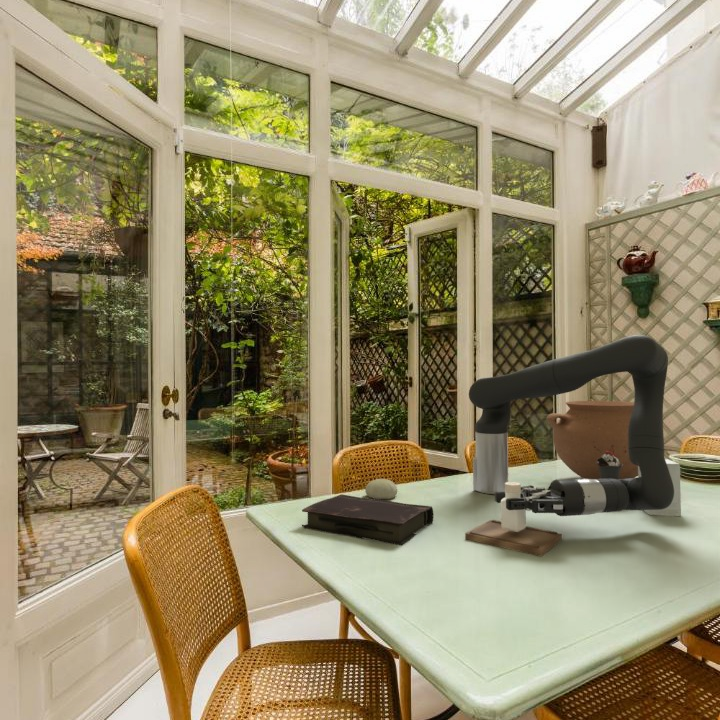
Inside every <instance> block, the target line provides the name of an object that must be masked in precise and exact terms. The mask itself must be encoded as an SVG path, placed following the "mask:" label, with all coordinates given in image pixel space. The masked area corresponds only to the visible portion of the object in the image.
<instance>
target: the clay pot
mask: <svg viewBox="0 0 720 720" xmlns="http://www.w3.org/2000/svg"><path fill="white" fill-rule="evenodd" d="M565 405H566V406H567V407H569V409H568V410H567V411H566V412H565V413H564V414H563V413H557V412H556V413H555V412H554V413H549V414H548V415H547V417H546V421H547V423H548V424H549V425H550V426H551V428H552V441H553V445H554V446H553V447H554V449H555V452H556V454H557V456H558V457H559V458H560V460H561V461H562V463H563V464H564V465H566V467H567V468H569V470H571V472H573V473H575V474H576V475H577V476H579V477H581V479H601V478H600V471H599V466H598V465H597V464H596V463H597V462H598V461H597V459H598V458H600V457H602V455H603V454H605V453H606V451H609V450H610V449H611V450H610V451H609V452H610V453H613V451H614V454H615V455H616V456H615V457H616V458H617V459H618V460H619V463H622V464H623V466H622V467H621V468H620V474H619V479H628V478H637V477H638V466H637V465H634V464H633V463H631V461H630V460H629V453H628V427H629V421H630V417H631V414H632V410H633V406H634V401H622V400H621V401H619V400H617V401H616V400H572V401H566V402H565ZM557 419H558V421H557V422H556V420H557ZM611 445H614V446H613V448H611Z"/></svg>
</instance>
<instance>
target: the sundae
mask: <svg viewBox="0 0 720 720" xmlns="http://www.w3.org/2000/svg"><path fill="white" fill-rule="evenodd" d="M613 446H614V445H611V448H613ZM610 450H611V449H610ZM610 450H609V451H610ZM609 451H606V453H605V454H603V455H602V457H600V458H598V459H597V461H598V462H597V463H596V464H597V465H598V466H599V471H600V478H601V479H617V480H618V479H619V474H620V468H621V467H622V466H623V464H622V463H619V460H618V459H617V458H616V457H615V456H616V455H615V454H614V451H613V453H610V452H609Z"/></svg>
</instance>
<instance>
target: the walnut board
mask: <svg viewBox="0 0 720 720" xmlns="http://www.w3.org/2000/svg"><path fill="white" fill-rule="evenodd" d="M464 535H465V536H464V537H465V540H467V541H468V540H469V541H473V542H477V543H481V544H486V545H490V546H495V547H499V548H504V549H508V550H512V551H516V552H520V553H521V552H522V553H525V554H530V555H534V556H539V557H542V556H543V555H545V554H546V553H548V551H550V550H551V549H553V548H554V547H555V546H556V545H557V544H559V543H560V542H561V541H562V540H563V534H562V533H558V532H557V531H554V530H553V531H552V530H548V529H543V528H537V527H532V526H527V525H526V528H525V529H523V530H521V531H519V532H514V531H510V530H506V529H503V528H502V527H501V520H496V519H490V520H488V521H486V522H484V523H482V524H480V525H478V526H476V527H475V528H473V529H471V530H469V531H467V532H465V534H464ZM558 542H559V543H558Z"/></svg>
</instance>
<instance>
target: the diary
mask: <svg viewBox="0 0 720 720" xmlns="http://www.w3.org/2000/svg"><path fill="white" fill-rule="evenodd" d="M301 511H302V512H303V513H307V524H301V526H302V528H304V529H307V530H312V531H318V532H321V533H328V534H334V535H339V536H347V537H351V538H357V539H361V540H362V539H363V540H372V541H378V542H381V543H386V544H390V545H396V546H400V547H401V546H403V545H405V544H406V543H408V542H409V541H410V540H411V539H412V538H414V537H416V535H418V534H417V532H418V531H419V530H421V529H422V528H424V526H429V527H430V525H427V524H433V523H434V509H433V506H432V505H431V506H430V505H421V504H411V503H403V502H398V501H392V500H387V499H374V498H369V497H368V498H367V497H365V498H364V497H358V496H352V495H347V494H338V495H335V496H333V497H330V498H327V499H323V500H320V501H317V502H315V503H313V504H310V505H308V506H306V507H304V508H302V509H301Z"/></svg>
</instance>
